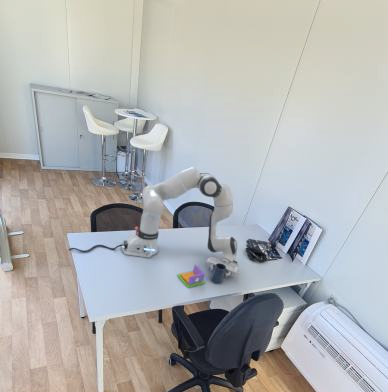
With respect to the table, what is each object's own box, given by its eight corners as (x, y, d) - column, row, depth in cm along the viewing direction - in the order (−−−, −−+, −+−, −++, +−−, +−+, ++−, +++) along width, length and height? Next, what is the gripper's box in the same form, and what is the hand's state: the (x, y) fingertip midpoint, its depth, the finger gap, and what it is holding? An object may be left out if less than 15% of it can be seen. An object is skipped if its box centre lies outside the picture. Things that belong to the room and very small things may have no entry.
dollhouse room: (204, 283, 170) (207, 274, 166) (188, 287, 163) (190, 278, 159) (193, 271, 177) (196, 262, 173) (177, 275, 170) (179, 266, 166)
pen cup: (213, 283, 171) (217, 269, 165) (210, 277, 176) (214, 263, 170) (222, 283, 174) (227, 269, 167) (219, 277, 178) (224, 263, 172)
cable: (241, 249, 212) (243, 244, 209) (257, 249, 217) (259, 244, 215) (252, 262, 200) (254, 257, 197) (268, 262, 205) (271, 257, 202)
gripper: (211, 252, 182) (203, 262, 171) (241, 264, 178) (236, 275, 168) (208, 260, 186) (201, 270, 175) (238, 272, 182) (232, 283, 171)
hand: (218, 272), depth 171 cm, fingers open, 8 cm apart
